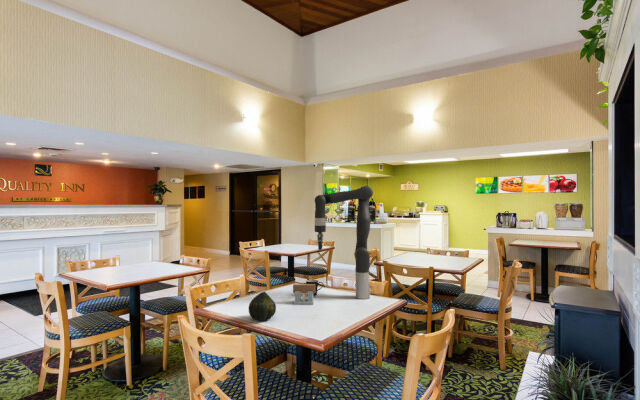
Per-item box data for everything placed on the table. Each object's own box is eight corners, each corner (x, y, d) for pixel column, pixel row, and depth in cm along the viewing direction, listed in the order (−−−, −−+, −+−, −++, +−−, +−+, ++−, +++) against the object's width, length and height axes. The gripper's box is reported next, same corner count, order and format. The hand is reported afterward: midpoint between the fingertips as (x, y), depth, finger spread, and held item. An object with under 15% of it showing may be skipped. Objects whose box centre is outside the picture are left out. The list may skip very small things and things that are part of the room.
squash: (251, 315, 184) (268, 290, 190) (239, 310, 196) (255, 286, 202) (270, 329, 189) (285, 305, 196) (257, 323, 201) (272, 300, 208)
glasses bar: (315, 291, 230) (315, 284, 230) (314, 293, 226) (314, 285, 227) (293, 291, 230) (293, 284, 230) (293, 293, 227) (292, 285, 227)
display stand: (314, 300, 233) (314, 288, 233) (313, 304, 223) (313, 292, 223) (295, 300, 233) (295, 288, 234) (294, 304, 223) (294, 292, 224)
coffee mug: (304, 296, 245) (304, 281, 246) (308, 293, 254) (308, 279, 254) (320, 297, 242) (320, 282, 242) (324, 294, 250) (323, 280, 251)
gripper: (325, 225, 232) (325, 250, 231) (326, 224, 246) (326, 247, 245) (313, 225, 232) (314, 250, 232) (315, 224, 246) (315, 247, 246)
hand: (320, 249), depth 238 cm, fingers open, 8 cm apart
